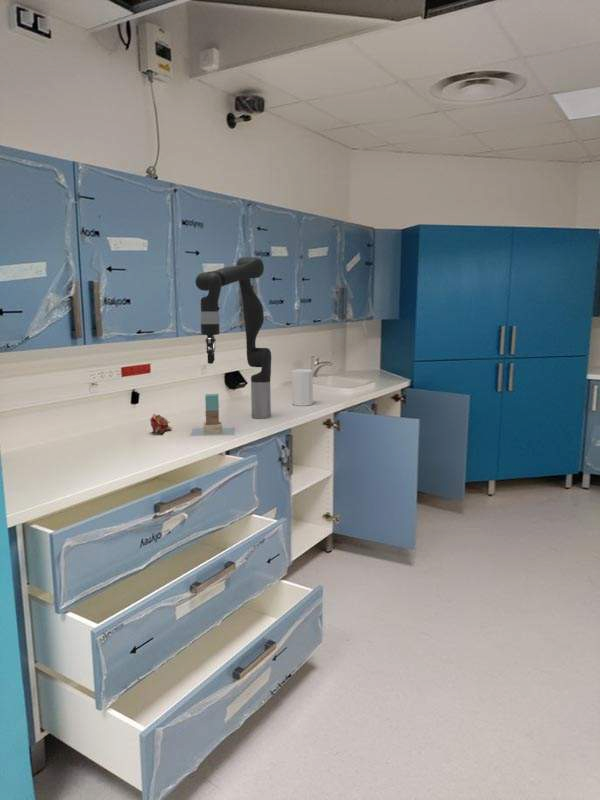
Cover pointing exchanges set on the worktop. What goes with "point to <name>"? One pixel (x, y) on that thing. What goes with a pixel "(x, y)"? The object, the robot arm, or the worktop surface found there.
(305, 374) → the cup
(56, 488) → the worktop surface
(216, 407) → the block teal
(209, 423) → the block walnut
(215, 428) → the base block
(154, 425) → the flower
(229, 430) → the board
